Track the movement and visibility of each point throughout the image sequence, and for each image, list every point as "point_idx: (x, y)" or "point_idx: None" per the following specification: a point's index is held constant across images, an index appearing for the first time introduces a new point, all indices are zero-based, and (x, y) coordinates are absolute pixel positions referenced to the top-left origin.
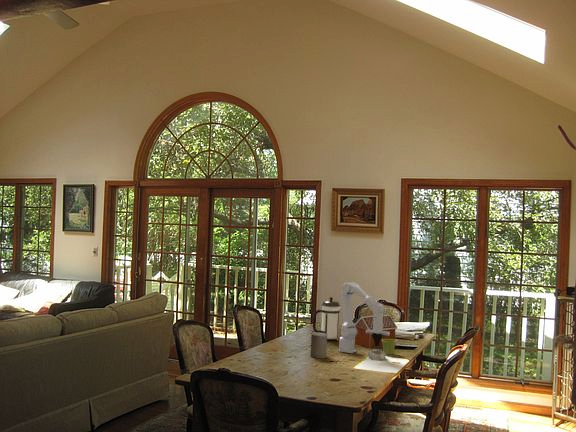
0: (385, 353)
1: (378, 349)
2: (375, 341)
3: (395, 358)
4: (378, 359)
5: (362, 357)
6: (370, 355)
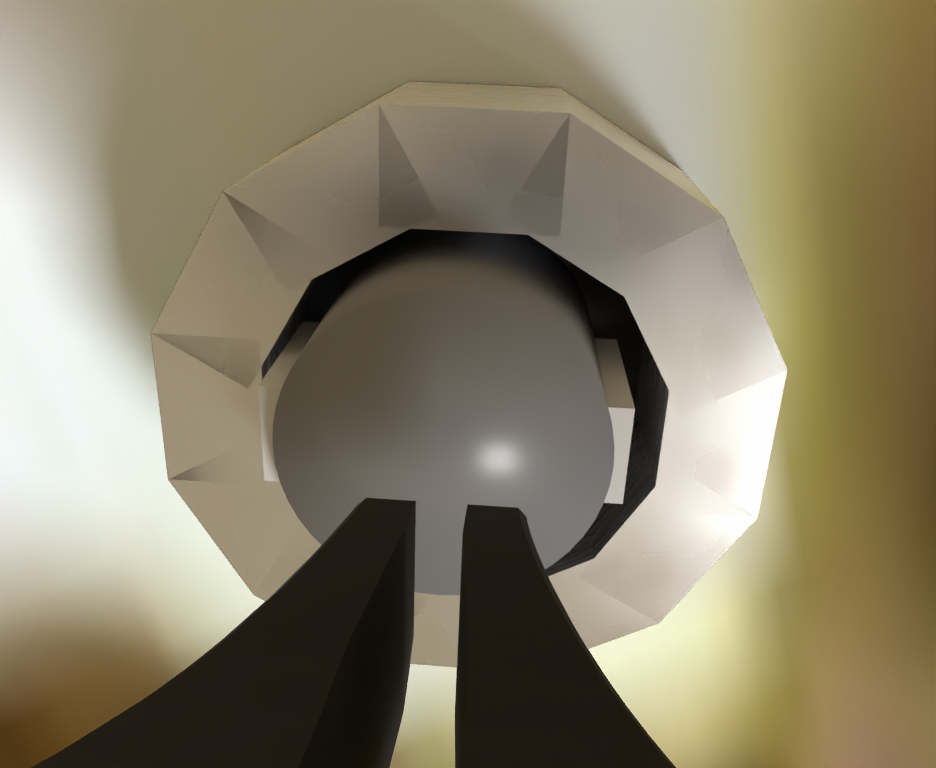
0: (173, 468)
1: (425, 571)
2: (495, 633)
3: (27, 557)
4: (349, 115)
5: (926, 212)
6: (653, 160)
